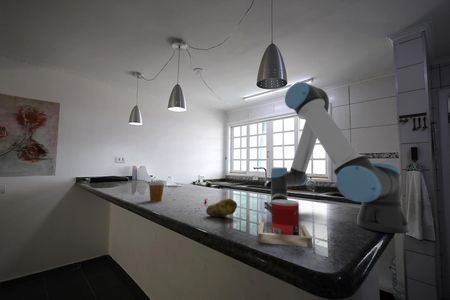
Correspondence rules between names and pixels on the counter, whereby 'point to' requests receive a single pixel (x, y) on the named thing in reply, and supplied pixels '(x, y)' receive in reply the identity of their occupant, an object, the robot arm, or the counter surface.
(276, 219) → the canned food
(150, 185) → the disposable coffee cup
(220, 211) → the potato
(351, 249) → the counter surface
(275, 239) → the shallow beige tray
